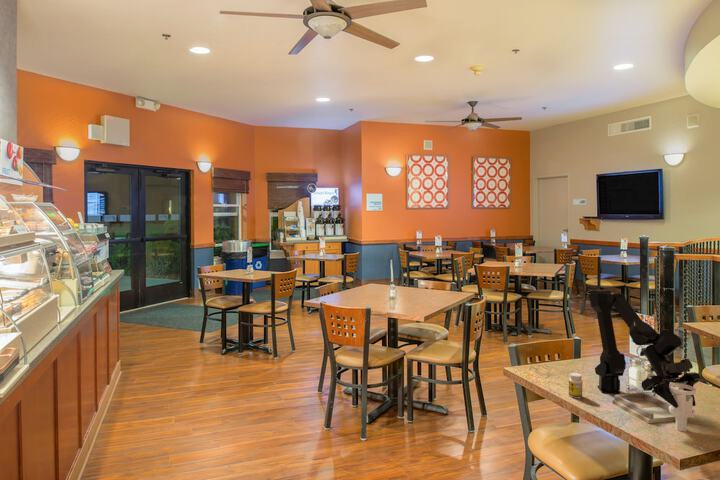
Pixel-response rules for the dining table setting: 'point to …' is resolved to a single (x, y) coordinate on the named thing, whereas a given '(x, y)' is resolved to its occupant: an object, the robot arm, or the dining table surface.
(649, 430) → the dining table surface
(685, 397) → the beige tall round piece
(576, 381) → the supplement bottle
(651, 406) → the rail board
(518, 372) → the dining table surface
